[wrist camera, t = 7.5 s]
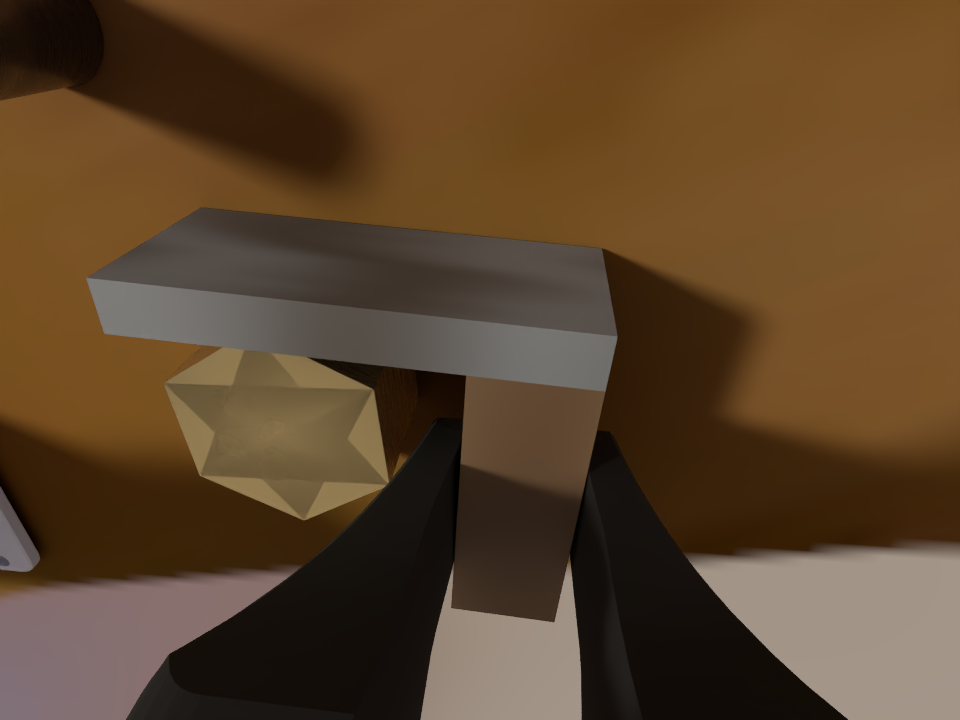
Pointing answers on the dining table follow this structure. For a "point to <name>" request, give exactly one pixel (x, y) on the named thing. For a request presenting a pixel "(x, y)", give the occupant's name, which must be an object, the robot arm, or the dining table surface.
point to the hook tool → (413, 355)
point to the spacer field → (47, 45)
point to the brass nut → (292, 425)
